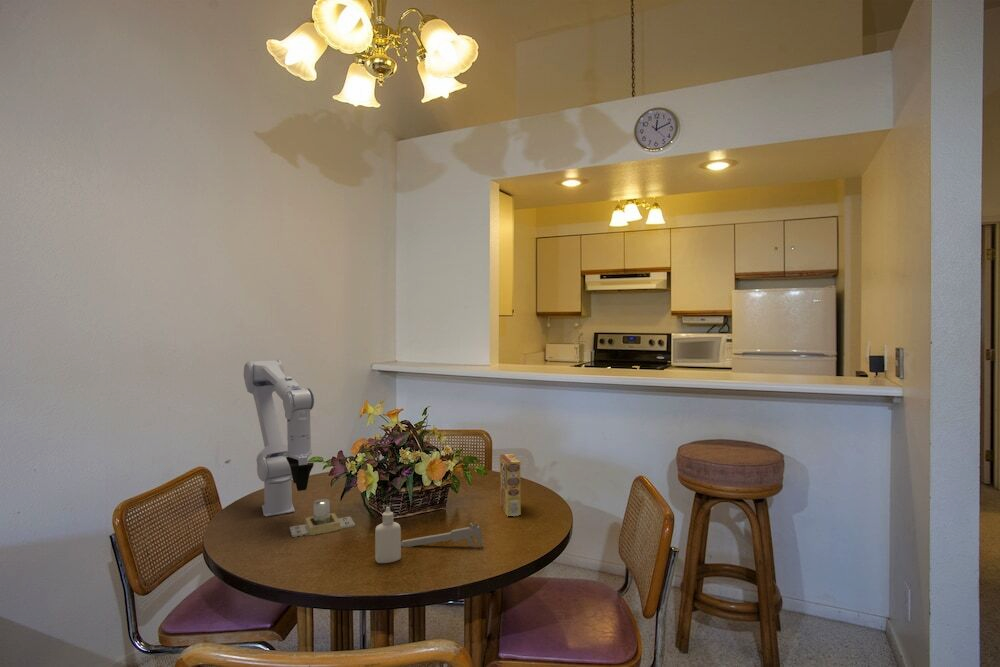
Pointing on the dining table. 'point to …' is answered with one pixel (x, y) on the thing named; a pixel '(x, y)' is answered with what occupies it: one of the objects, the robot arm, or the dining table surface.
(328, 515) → the translucent cylinder
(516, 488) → the candy box
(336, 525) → the cream tabbed socket tray
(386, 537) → the eye dropper bottle
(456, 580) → the dining table surface
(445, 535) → the caliper
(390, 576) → the dining table surface
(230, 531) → the dining table surface
